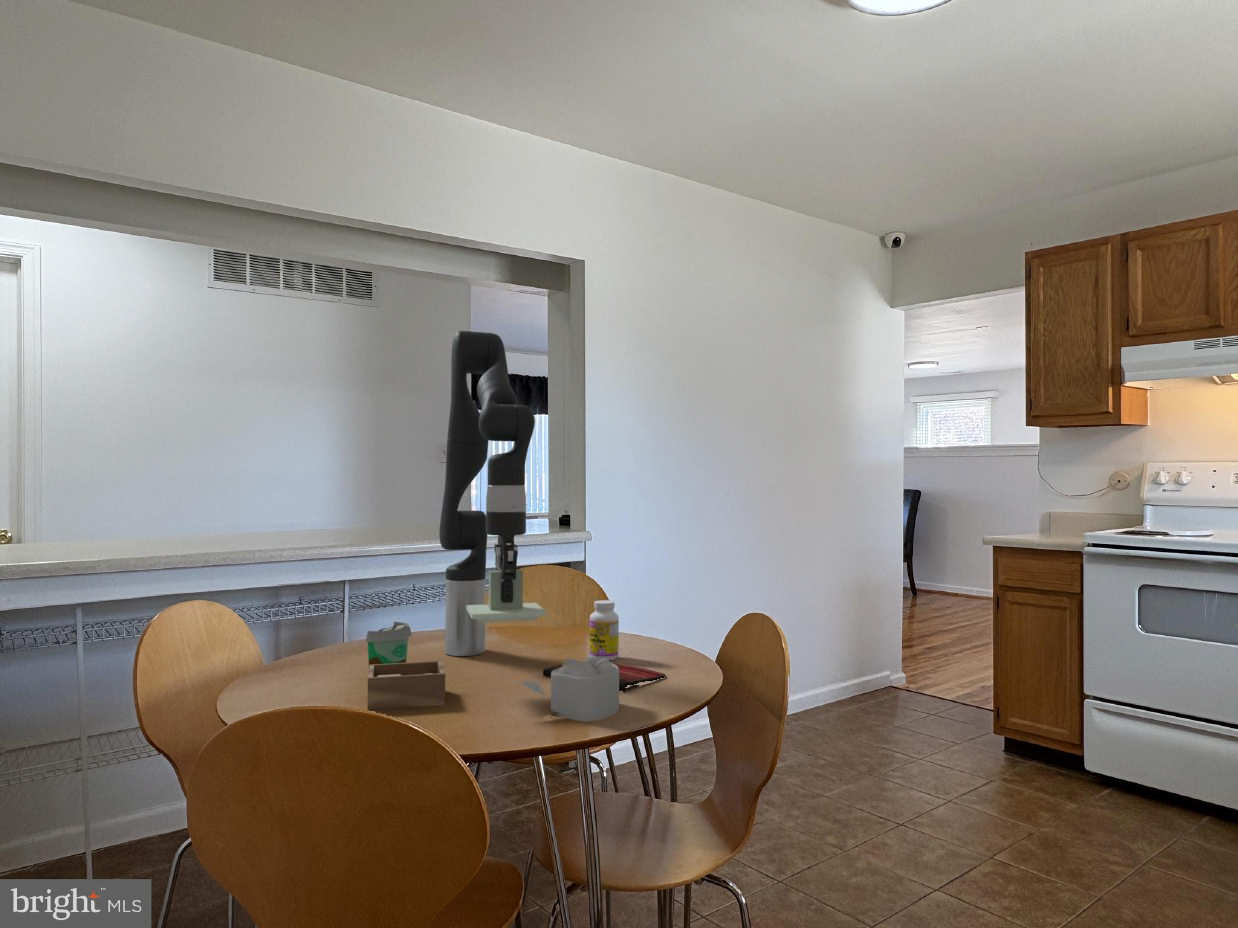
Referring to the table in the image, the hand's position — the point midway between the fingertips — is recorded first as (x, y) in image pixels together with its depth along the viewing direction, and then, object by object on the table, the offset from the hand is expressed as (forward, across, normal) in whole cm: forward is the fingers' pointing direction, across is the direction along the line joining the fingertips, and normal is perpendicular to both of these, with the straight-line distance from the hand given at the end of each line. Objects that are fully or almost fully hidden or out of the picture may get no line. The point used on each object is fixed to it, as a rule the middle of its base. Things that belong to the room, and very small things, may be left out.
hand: (505, 600), depth 153 cm
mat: (+18, 0, 0) cm, 18 cm away
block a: (+17, -2, +21) cm, 27 cm away
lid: (+3, 0, 0) cm, 3 cm away
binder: (+18, +9, -22) cm, 30 cm away
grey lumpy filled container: (+18, -14, -13) cm, 26 cm away
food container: (+18, +21, +20) cm, 34 cm away
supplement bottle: (+18, +26, -26) cm, 41 cm away
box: (+18, -2, +18) cm, 25 cm away
